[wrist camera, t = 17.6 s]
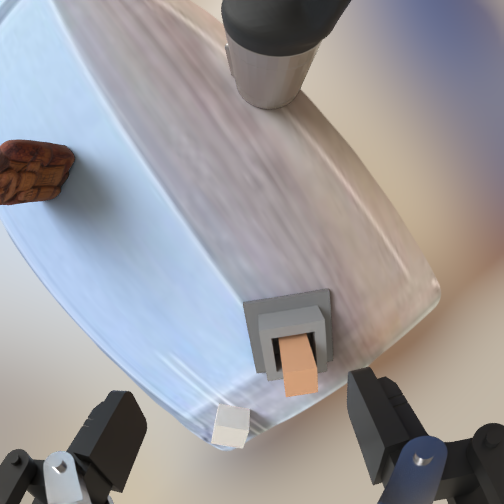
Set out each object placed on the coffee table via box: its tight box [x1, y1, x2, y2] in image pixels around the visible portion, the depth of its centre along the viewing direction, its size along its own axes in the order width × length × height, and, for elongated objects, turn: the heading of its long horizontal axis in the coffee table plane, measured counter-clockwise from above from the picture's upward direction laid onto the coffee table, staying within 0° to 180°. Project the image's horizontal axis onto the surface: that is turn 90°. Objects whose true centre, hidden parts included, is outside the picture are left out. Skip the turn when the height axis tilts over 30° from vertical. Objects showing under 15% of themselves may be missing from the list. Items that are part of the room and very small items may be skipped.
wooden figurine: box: [0, 140, 75, 205], centre depth 29 cm, size 12×6×18 cm, turn 138°
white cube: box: [211, 404, 250, 448], centre depth 45 cm, size 6×6×6 cm
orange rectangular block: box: [278, 333, 318, 397], centre depth 37 cm, size 4×4×12 cm
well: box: [243, 289, 333, 381], centre depth 40 cm, size 13×13×6 cm
